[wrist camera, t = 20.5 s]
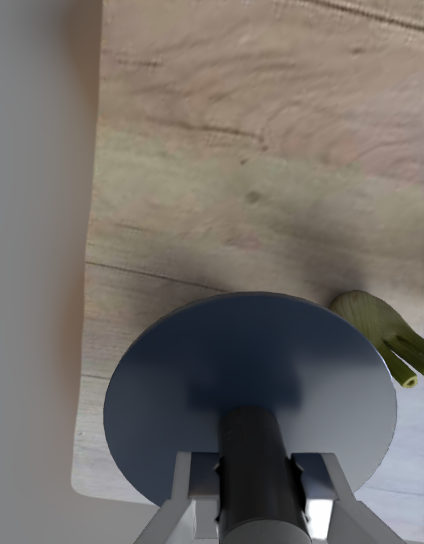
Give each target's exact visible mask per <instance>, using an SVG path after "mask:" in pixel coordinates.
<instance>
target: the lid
mask: <svg viewBox="0 0 424 544" xmlns="http://www.w3.org/2000/svg"><path fill="white" fill-rule="evenodd" d="M396 420H397V400H396V391H395V387H394V384H393V380H392V377H391V374H390V372H389V370H388V368H387V366H386V364H385V362H384V359H383V358H382V357H381V355H380V354H379V352H378V351H377V350H376V348H375V347H374V345H373V344H372V343H371V342H370V341H369V340H368V339H367V338H366V337H365V336H364V335H363V334H362V333H361V332H360V331H359V330H358V329H357V328H356V327H355V326H354V325H352V324H351V323H350V322H348V321H347V320H346V319H344V318H343V317H342V316H340V315H339V314H337V313H335V312H333V311H331V310H329V309H328V308H326V307H324V306H322V305H319V304H317V303H314V302H311V301H309V300H306V299H303V298H299V297H295V296H291V295H286V294H281V293H272V292H262V291H257V292H235V293H227V294H220V295H216V296H212V297H208V298H204V299H201V300H197V301H195V302H192V303H190V304H187V305H185V306H182V307H180V308H178V309H176V310H174V311H172V312H171V313H169V314H167V315H165V316H164V317H162V318H160V319H159V320H158V321H156V322H155V323H154V324H152V325H151V326H150V327H148V328H147V329H146V330H145V331H144V332H143V333H142V334H141V335H140V336H139V337H138V338H137V339H136V340H135V341H134V342H133V343H132V344H131V345H130V347H129V348H128V350H127V351H126V352H125V354H124V355H123V356H122V358H121V360H120V362H119V364H118V366H117V367H116V369H115V371H114V373H113V375H112V377H111V380H110V383H109V386H108V389H107V391H106V396H105V402H104V408H103V424H104V430H105V436H106V441H107V444H108V447H109V450H110V453H111V455H112V457H113V459H114V461H115V463H116V465H117V467H118V468H119V469H120V471H121V472H122V474H123V475H124V476H125V478H126V479H127V480H128V481H129V482H130V483H131V484H132V486H133V487H134V488H135V489H136V490H137V491H139V492H140V493H141V494H142V495H143V496H145V497H146V498H147V499H148V500H150V501H151V502H153V503H154V504H156V505H157V506H159V507H161V506H162V504H163V503H164V502H165V500H166V499H171V493H172V486H173V479H174V471H175V464H176V456H177V453H178V451H186V452H217V453H219V477H220V514H219V544H312V540H311V537H310V533H309V529H308V526H307V522H306V518H305V515H304V511H303V507H302V504H301V500H300V496H299V493H298V489H297V485H296V482H295V478H294V474H293V471H292V467H291V463H290V455H291V453H305V452H318V453H334V454H335V455H336V456H337V459H338V461H339V463H340V465H341V467H342V470H343V472H344V474H345V476H346V479H347V481H348V483H349V485H350V487H351V490H352V492H353V493H354V492H355V491H356V490H358V489H359V488H360V487H361V486H362V485H363V484H364V483H365V482H366V481H367V480H368V479H369V478H370V477H371V475H372V474H373V473H374V472H375V470H376V469H377V468H378V466H379V465H380V463H381V462H382V460H383V458H384V456H385V455H386V453H387V451H388V449H389V446H390V443H391V441H392V438H393V435H394V430H395V426H396Z"/></svg>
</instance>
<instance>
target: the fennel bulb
mask: <svg viewBox="0 0 424 544" xmlns="http://www.w3.org/2000/svg"><path fill="white" fill-rule="evenodd" d="M329 310H331V311H333V312H335V313H337V314H339V315H340V316H342V317H343V318H344V319H346V320H347V321H348V322H350V323H351V324H352V325H354V326H355V327H356V328H357V329H358V330H359V331H360V332H361V333H362V334H363V335H364V336H365V337H366V338H367V339H368V340H369V341H370V342H371V343H372V344H373V345H374V347H375V348H376V350H377V351H378V352H379V354H380V355H381V357H382V358H383V359H384V362H385V364H386V366H387V368H388V370H389V372H390V374H391V375H392V376H393V377H394V378H395V380H396V381H397V382H398V383H399V384H400V385H401V386H402V387H406V388H411V387H414V386H415V385H416V384H417V381H418V379H417V375H416V374H415V373H414V372H413V371H412V370H411V369H410V368H409V367H408V366H407V365H406V364H405V363H404V362H403V361H402V360H401V359H399V358H398V357H397V356H396V355H395V354H394V353H393V352H395V353H396V354H397V355H398V356H399V357H401V358H402V359H404V360H405V361H406V362H407V363H408V364H410V365H411V366H412V367H414V368H415V369H416V370H417V371H418V372H420V373H421V374H422V375H424V339H423V338H422V337H421V336H419V335H418V334H417V333H415V332H414V330H412V328H411V327H410V326H409V325H408V324H407V323H406V322H405V321H404V319H403V318H402V317H401V315H400V314H398V312H396V311H395V310H394V309H393V308H392V307H391V306H390V305H388V304H387V303H386V302H385V301H383V300H382V299H380V298H377V297H375V296H373V295H371V294H369V293H367V292H365V291H360V290H353V291H349V292H346V293H344V294H341V295H340V296H338V297H337V298H336V299H335V300H334V301H333V302H332V303H331V305H330V308H329ZM391 350H392V351H393V352H392V351H391Z"/></svg>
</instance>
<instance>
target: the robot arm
mask: <svg viewBox="0 0 424 544" xmlns="http://www.w3.org/2000/svg"><path fill="white" fill-rule="evenodd" d="M290 463H291V467H292V471H293V474H294V478H295V482H296V485H297V489H298V493H299V496H300V500H301V504H302V507H303V511H304V515H305V518H306V522H307V526H308V529H309V533H310V537H311V540H326V541H328V544H407V543H406V542H405V541H403V540H402V539H401V538H400V537H399V536H398V535H397V534H396V533H395V532H394V531H393V530H392V529H391V528H390V527H388V526H387V525H386V524H385V523H384V522H383V521H382V520H381V519H380V518H379V517H378V516H377V515H376V514H375V513H373V512H372V511H371V510H370V509H369V508H368V507H367V506H366V505H365V504H364V503H363V502H362V501H356V498H355V496H354V494H353V492H352V490H351V487H350V485H349V483H348V481H347V479H346V476H345V474H344V472H343V470H342V467H341V465H340V463H339V461H338V459H337V456H336V455H335V454H334V453H318V452H305V453H291V455H290ZM219 514H220V477H219V453H217V452H186V451H178V453H177V456H176V464H175V471H174V479H173V486H172V493H171V499H166V500H165V502H164V503H163V504H162V506H161V507H160V509H159V510H158V511H157V513H156V514H155V515H154V517H153V518H152V519H151V521H150V522H149V523H148V525H147V526H146V527H145V529H144V530H143V532H142V533H141V534H140V536H139V537H138V538H137V540H136V541H135V542H134V544H192V543H193V539H219Z"/></svg>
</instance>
